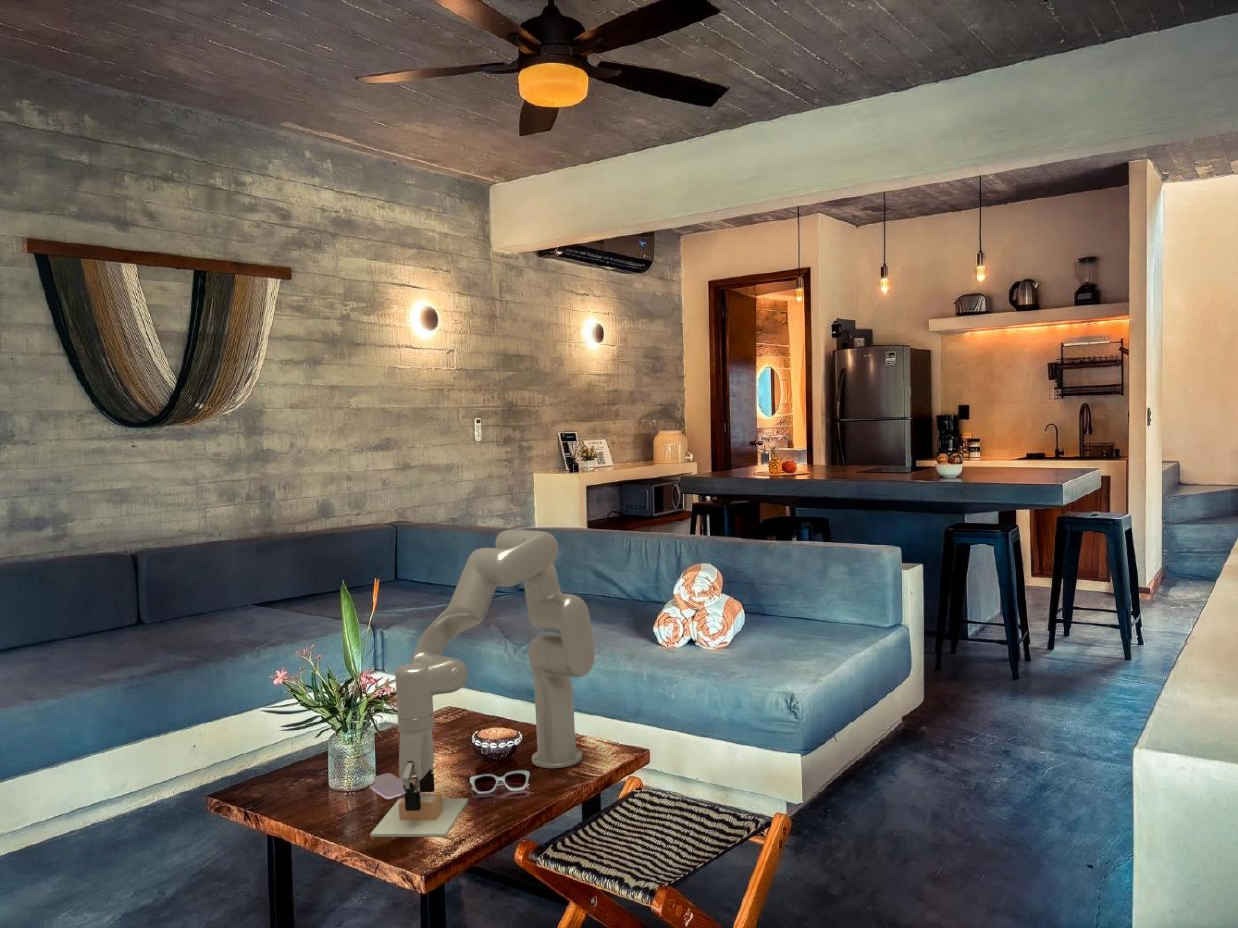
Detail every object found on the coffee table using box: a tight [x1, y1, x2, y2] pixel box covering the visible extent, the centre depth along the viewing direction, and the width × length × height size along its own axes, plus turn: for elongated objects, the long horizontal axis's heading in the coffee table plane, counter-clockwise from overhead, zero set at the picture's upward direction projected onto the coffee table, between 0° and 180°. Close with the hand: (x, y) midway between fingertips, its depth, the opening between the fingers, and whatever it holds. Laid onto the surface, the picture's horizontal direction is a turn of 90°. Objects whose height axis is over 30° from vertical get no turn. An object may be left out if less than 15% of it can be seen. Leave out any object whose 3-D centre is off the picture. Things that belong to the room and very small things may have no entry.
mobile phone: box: [369, 772, 405, 800], centre depth 218 cm, size 8×1×15 cm
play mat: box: [369, 797, 469, 838], centre depth 199 cm, size 18×16×1 cm
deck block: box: [399, 793, 444, 820], centre depth 199 cm, size 8×5×4 cm, turn 83°
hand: (420, 800), depth 199 cm, fingers open, 9 cm apart
